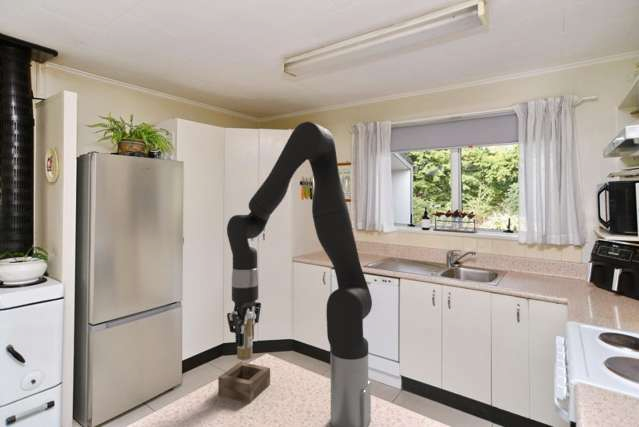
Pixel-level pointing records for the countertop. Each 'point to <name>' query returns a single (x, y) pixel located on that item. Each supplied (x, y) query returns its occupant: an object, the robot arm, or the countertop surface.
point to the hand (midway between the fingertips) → (245, 342)
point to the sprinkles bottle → (246, 339)
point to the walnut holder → (244, 382)
